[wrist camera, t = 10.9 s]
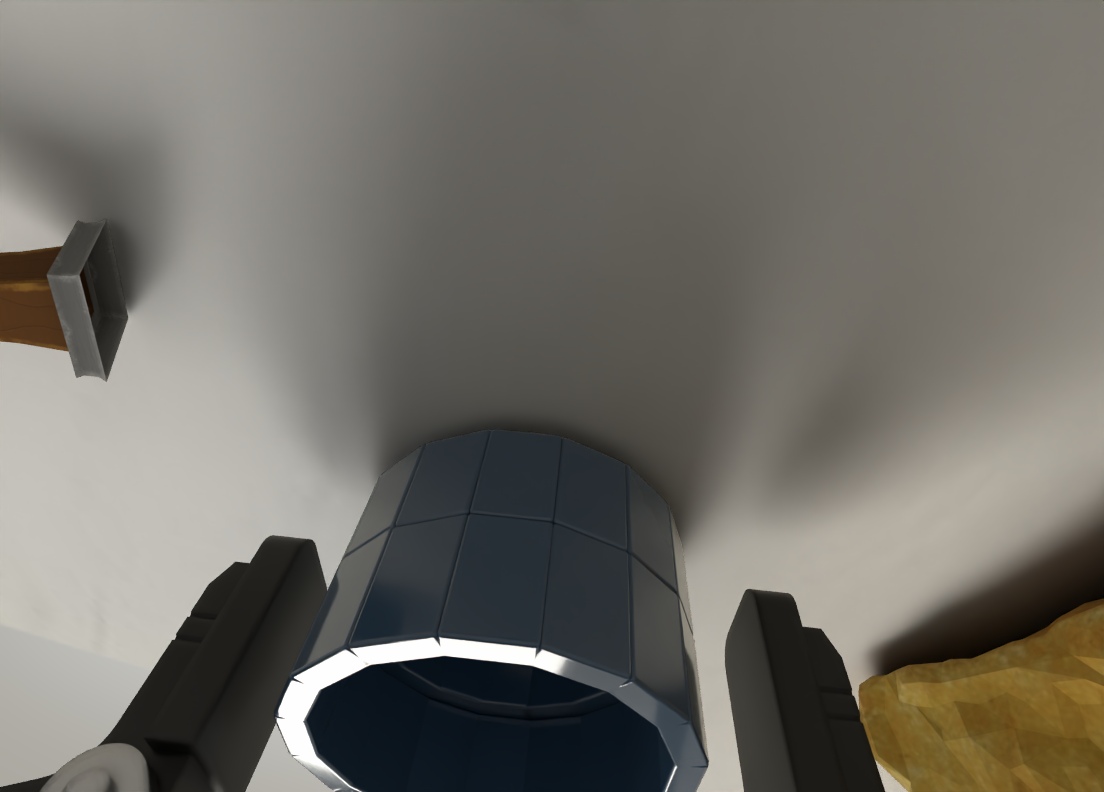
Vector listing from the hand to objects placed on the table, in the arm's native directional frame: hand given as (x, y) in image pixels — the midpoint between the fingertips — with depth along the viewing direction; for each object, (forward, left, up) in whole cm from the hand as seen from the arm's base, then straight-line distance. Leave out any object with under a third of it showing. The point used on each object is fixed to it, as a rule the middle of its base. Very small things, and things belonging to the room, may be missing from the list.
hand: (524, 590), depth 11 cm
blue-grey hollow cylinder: (0, 0, -2) cm, 2 cm away
